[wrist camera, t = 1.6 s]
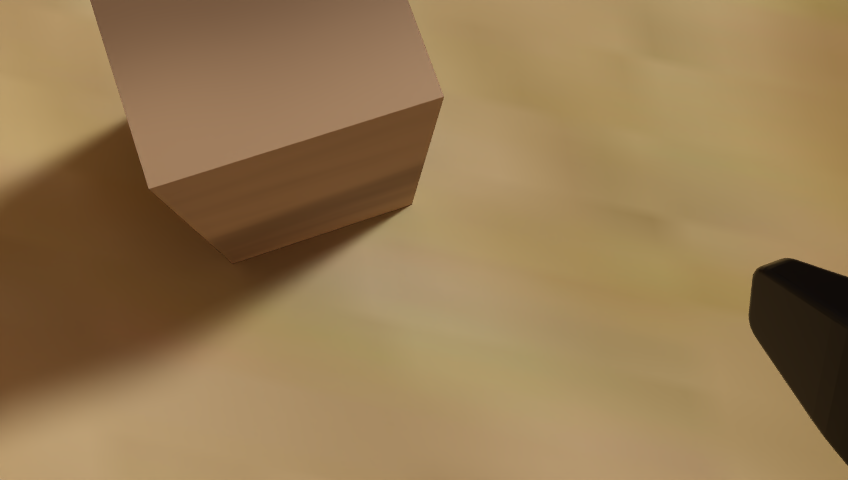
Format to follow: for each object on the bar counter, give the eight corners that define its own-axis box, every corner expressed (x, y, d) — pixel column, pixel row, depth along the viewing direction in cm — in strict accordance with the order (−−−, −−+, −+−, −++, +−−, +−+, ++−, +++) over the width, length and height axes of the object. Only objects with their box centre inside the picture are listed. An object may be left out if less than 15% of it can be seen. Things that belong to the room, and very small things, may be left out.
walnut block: (411, 204, 23) (443, 96, 14) (232, 263, 22) (149, 188, 13) (352, 39, 24) (347, -161, 15) (177, 91, 23) (63, -87, 14)
